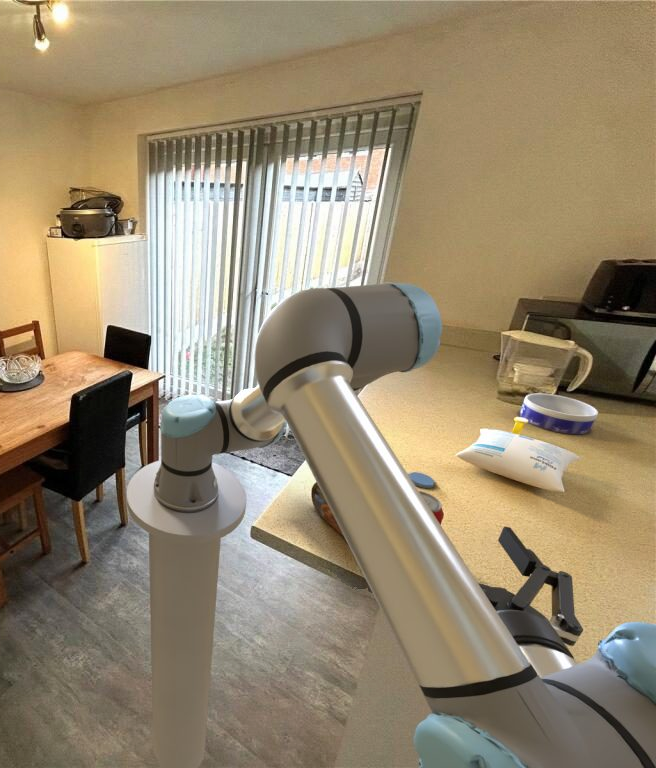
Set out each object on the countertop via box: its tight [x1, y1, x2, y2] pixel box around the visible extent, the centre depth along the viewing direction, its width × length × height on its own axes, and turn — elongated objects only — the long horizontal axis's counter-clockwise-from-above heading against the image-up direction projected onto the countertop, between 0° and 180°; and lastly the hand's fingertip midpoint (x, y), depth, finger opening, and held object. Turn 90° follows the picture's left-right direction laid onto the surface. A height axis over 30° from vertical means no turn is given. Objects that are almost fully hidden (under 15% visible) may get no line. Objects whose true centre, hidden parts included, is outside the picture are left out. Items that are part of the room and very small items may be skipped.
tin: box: [310, 481, 344, 537], centre depth 79 cm, size 15×3×8 cm, turn 19°
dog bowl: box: [519, 392, 599, 435], centre depth 116 cm, size 15×15×6 cm
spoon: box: [407, 471, 435, 489], centre depth 96 cm, size 19×5×1 cm, turn 53°
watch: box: [511, 416, 529, 435], centre depth 108 cm, size 6×3×6 cm, turn 129°
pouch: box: [455, 428, 581, 493], centre depth 95 cm, size 8×19×20 cm
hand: (450, 524), depth 60 cm, fingers open, 13 cm apart
